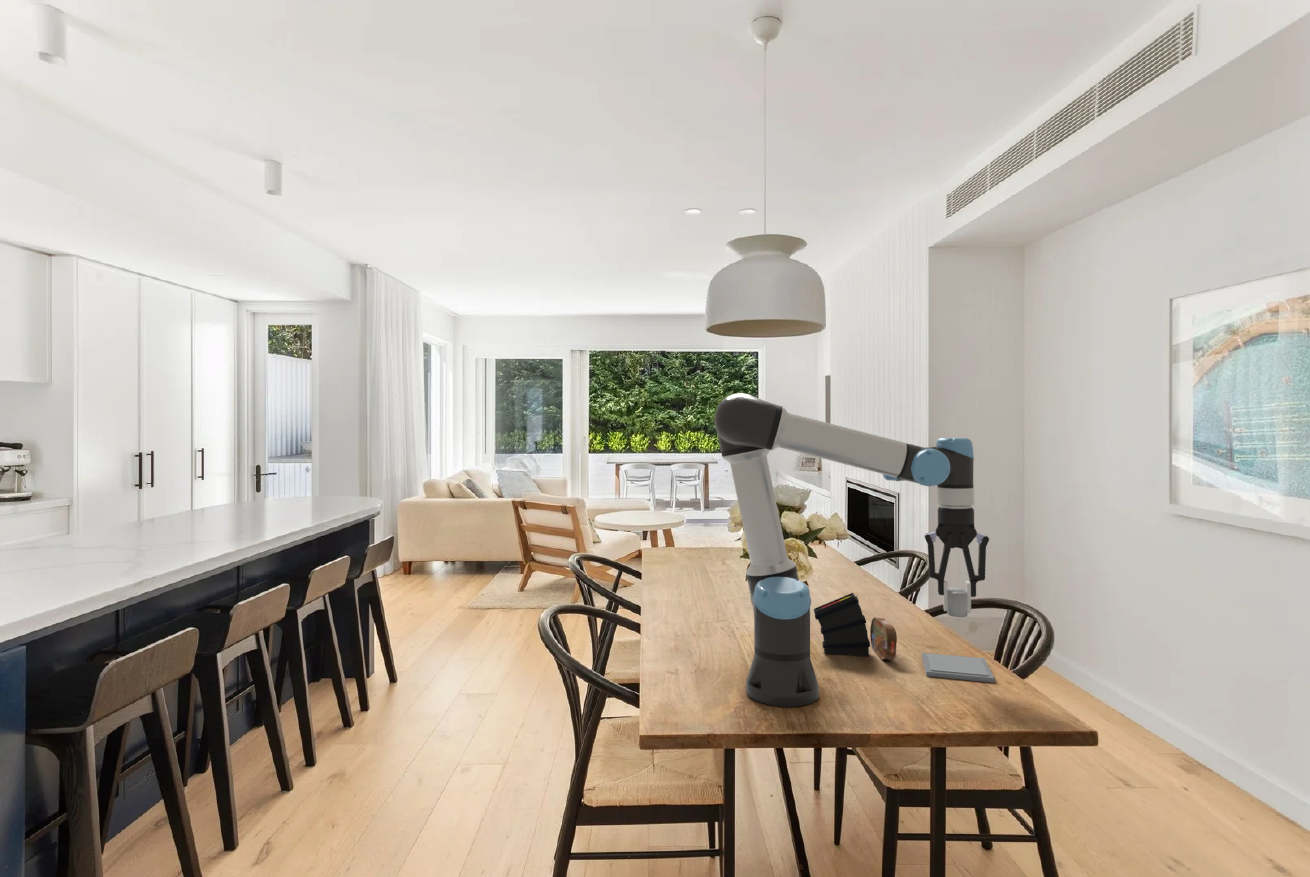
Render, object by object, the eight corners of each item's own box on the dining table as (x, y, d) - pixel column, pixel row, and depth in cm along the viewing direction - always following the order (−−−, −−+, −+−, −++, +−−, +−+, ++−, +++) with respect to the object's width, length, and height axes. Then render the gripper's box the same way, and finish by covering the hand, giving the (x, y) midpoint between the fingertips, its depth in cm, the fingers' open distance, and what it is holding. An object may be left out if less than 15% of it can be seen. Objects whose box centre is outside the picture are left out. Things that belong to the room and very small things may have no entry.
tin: (869, 645, 177) (869, 613, 177) (881, 645, 177) (881, 613, 177) (885, 665, 162) (885, 629, 162) (898, 665, 162) (898, 629, 162)
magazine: (883, 651, 167) (855, 595, 168) (832, 671, 169) (806, 615, 171) (881, 646, 171) (854, 591, 172) (832, 666, 173) (806, 611, 174)
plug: (948, 616, 151) (948, 593, 151) (945, 606, 160) (945, 584, 160) (968, 617, 150) (968, 595, 149) (964, 607, 158) (964, 585, 158)
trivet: (926, 676, 155) (926, 670, 155) (921, 656, 168) (921, 651, 168) (994, 682, 150) (994, 677, 150) (984, 662, 164) (984, 657, 164)
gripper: (995, 505, 154) (996, 608, 154) (914, 504, 160) (916, 603, 160) (1000, 509, 147) (1001, 617, 147) (915, 507, 153) (917, 611, 153)
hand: (957, 610), depth 154 cm, fingers closed on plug, 4 cm apart
